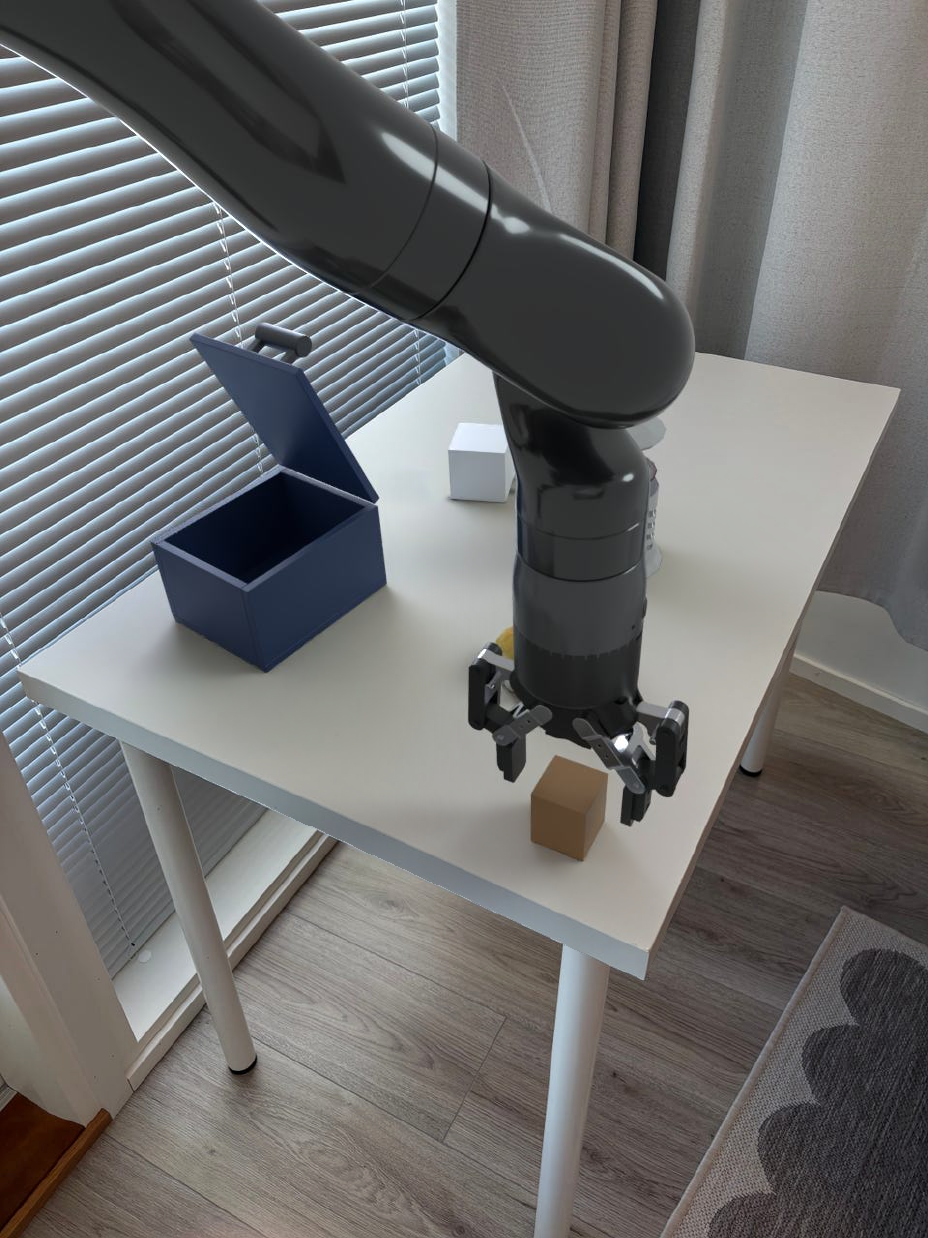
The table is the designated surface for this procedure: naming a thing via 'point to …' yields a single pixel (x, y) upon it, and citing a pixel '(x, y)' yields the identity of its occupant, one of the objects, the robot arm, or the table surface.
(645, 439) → the french press
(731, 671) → the table surface
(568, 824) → the block
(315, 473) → the lid
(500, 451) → the white cube
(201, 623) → the box
